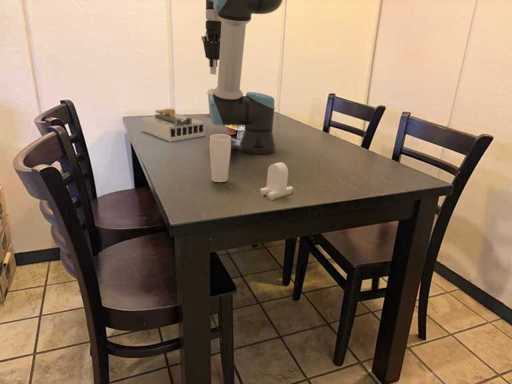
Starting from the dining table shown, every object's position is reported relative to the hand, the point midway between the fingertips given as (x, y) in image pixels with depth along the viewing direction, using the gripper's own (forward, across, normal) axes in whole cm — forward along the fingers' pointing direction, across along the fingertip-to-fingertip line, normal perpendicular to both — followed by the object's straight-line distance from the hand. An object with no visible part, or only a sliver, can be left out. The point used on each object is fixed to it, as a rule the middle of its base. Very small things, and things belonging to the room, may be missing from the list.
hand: (213, 74), depth 184 cm
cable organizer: (+27, +38, +78) cm, 91 cm away
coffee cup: (+27, -20, -22) cm, 40 cm away
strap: (+20, +24, -1) cm, 31 cm away
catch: (+20, +22, -8) cm, 31 cm away
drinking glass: (+27, +45, +59) cm, 79 cm away
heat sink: (+26, +22, -1) cm, 35 cm away
